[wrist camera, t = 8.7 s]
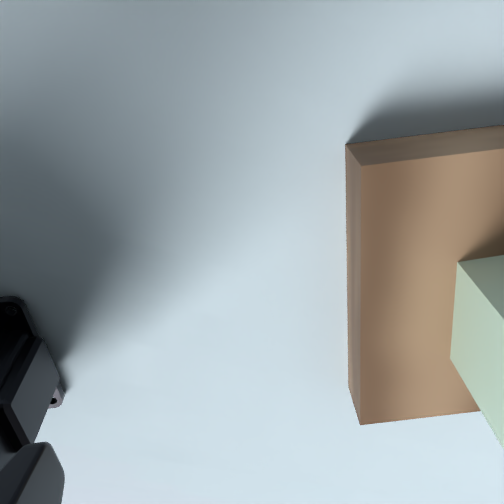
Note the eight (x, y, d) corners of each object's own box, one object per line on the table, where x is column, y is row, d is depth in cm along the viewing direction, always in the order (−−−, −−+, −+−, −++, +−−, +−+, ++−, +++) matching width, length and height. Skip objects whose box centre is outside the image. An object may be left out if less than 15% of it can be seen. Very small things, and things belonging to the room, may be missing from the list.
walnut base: (346, 379, 26) (360, 425, 23) (342, 140, 19) (360, 166, 16) (591, 350, 25) (633, 392, 23) (671, 99, 19) (742, 119, 16)
